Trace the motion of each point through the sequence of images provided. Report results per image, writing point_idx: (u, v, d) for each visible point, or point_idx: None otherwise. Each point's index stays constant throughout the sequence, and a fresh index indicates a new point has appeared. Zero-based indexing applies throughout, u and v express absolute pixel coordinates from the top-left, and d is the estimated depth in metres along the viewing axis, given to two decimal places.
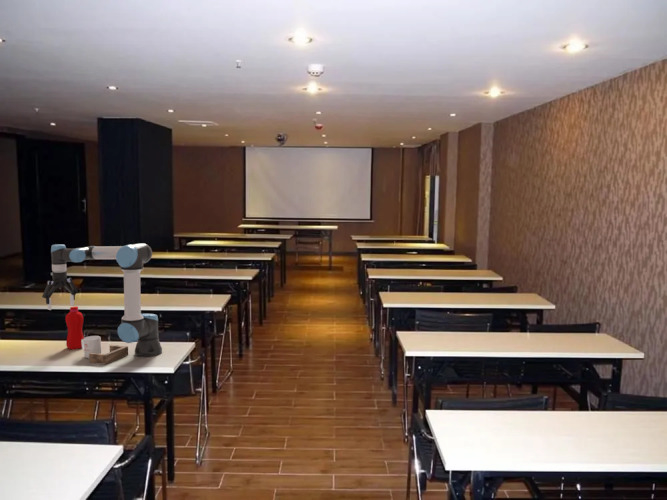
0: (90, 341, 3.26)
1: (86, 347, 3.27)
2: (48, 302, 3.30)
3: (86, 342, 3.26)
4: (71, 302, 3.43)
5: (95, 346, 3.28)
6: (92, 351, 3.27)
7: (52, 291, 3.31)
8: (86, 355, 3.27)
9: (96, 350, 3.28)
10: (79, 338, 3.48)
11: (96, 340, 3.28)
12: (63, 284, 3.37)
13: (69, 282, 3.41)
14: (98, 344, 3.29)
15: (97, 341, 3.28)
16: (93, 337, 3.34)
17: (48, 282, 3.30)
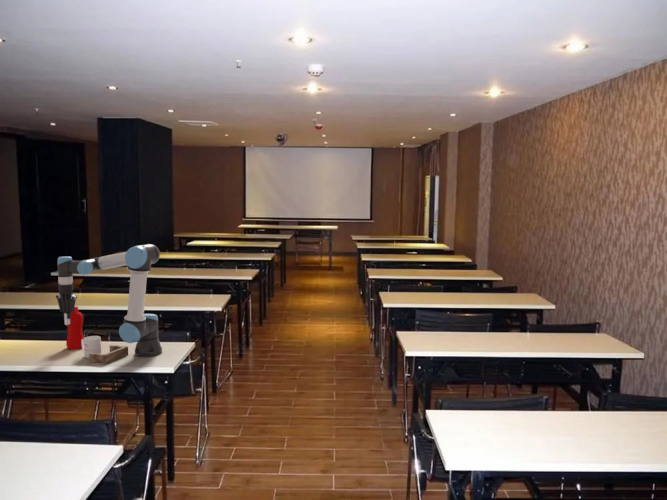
0: (90, 341, 3.26)
1: (86, 347, 3.27)
2: (64, 316, 3.34)
3: (86, 342, 3.26)
4: None
5: (95, 346, 3.28)
6: (92, 351, 3.27)
7: (62, 305, 3.33)
8: (86, 355, 3.27)
9: (96, 350, 3.28)
10: (79, 338, 3.48)
11: (96, 340, 3.28)
12: None
13: None
14: (98, 344, 3.29)
15: (97, 341, 3.28)
16: (93, 337, 3.34)
17: None
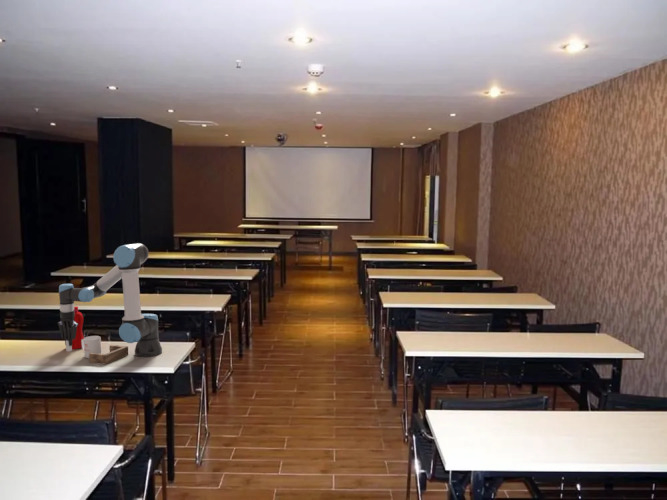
0: (90, 341, 3.26)
1: (86, 347, 3.27)
2: (66, 343, 3.35)
3: (86, 342, 3.26)
4: None
5: (95, 346, 3.28)
6: (92, 351, 3.27)
7: (64, 332, 3.34)
8: (86, 355, 3.27)
9: (96, 350, 3.28)
10: (79, 338, 3.48)
11: (96, 340, 3.28)
12: None
13: None
14: (98, 344, 3.29)
15: (97, 341, 3.28)
16: (93, 337, 3.34)
17: None
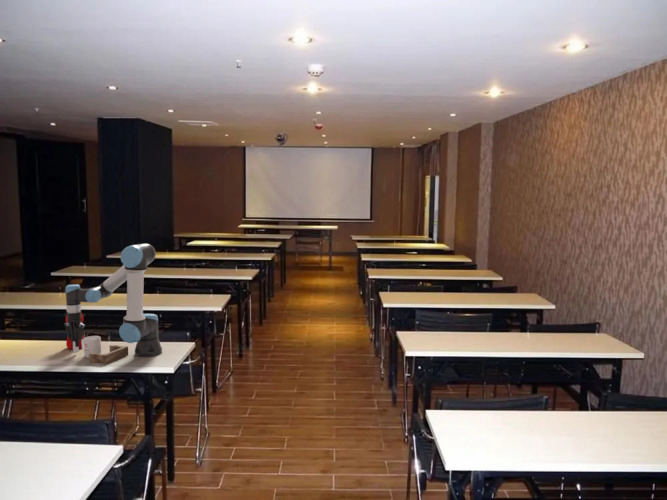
0: (90, 341, 3.26)
1: (86, 347, 3.27)
2: (72, 344, 3.34)
3: (86, 342, 3.26)
4: None
5: (95, 346, 3.28)
6: (92, 351, 3.27)
7: (71, 333, 3.33)
8: (86, 355, 3.27)
9: (96, 350, 3.28)
10: None
11: (96, 340, 3.28)
12: None
13: None
14: (98, 344, 3.29)
15: (97, 341, 3.28)
16: (93, 337, 3.34)
17: None
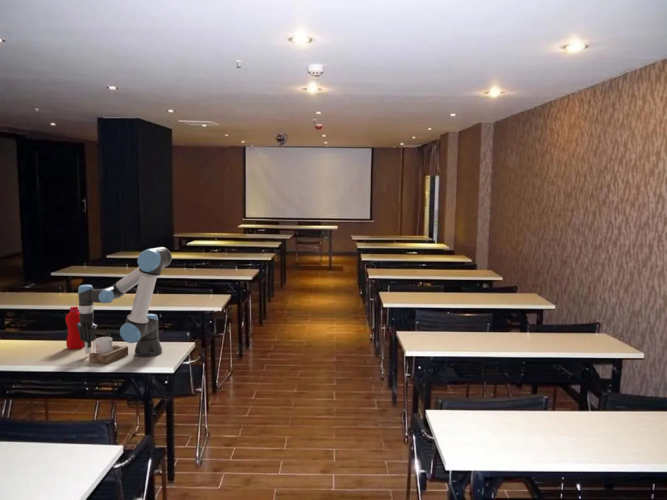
0: (102, 342, 3.24)
1: (98, 348, 3.24)
2: (84, 345, 3.32)
3: (98, 343, 3.24)
4: None
5: (107, 347, 3.25)
6: (104, 352, 3.25)
7: (83, 334, 3.30)
8: None
9: (108, 351, 3.26)
10: (79, 338, 3.48)
11: (108, 341, 3.25)
12: None
13: None
14: (110, 345, 3.27)
15: (109, 342, 3.26)
16: (104, 338, 3.32)
17: None
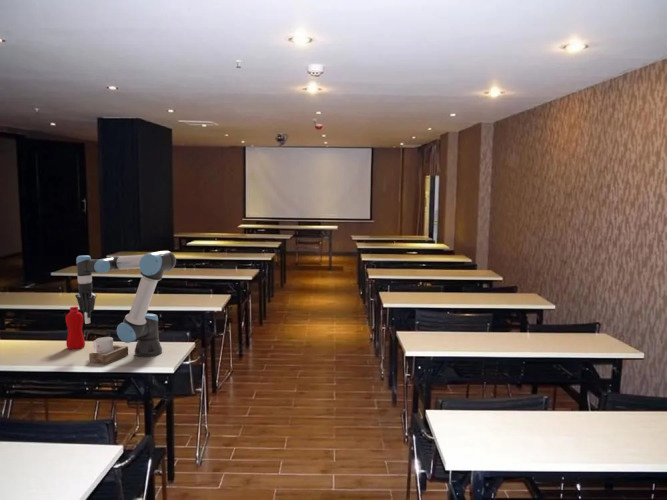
0: (102, 342, 3.24)
1: (98, 348, 3.24)
2: (84, 315, 3.35)
3: (98, 343, 3.24)
4: None
5: (107, 347, 3.25)
6: (104, 352, 3.24)
7: (82, 304, 3.34)
8: None
9: (108, 352, 3.26)
10: (79, 338, 3.48)
11: (108, 341, 3.25)
12: None
13: None
14: (111, 345, 3.27)
15: (109, 342, 3.26)
16: (105, 338, 3.32)
17: None
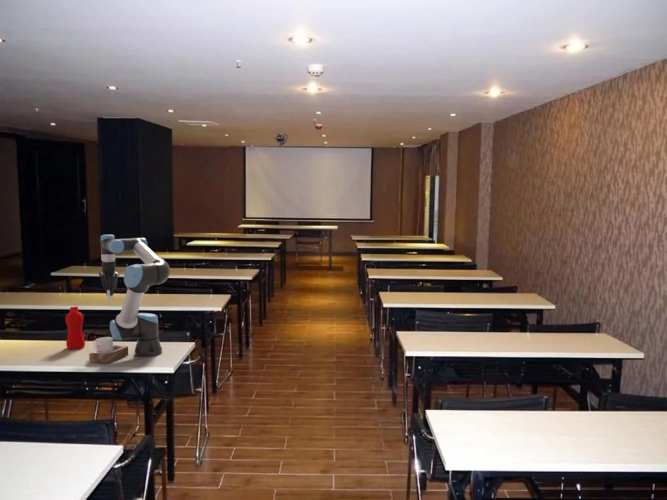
0: (102, 342, 3.24)
1: (98, 348, 3.24)
2: (107, 293, 3.43)
3: (98, 343, 3.24)
4: None
5: (107, 347, 3.25)
6: (104, 352, 3.24)
7: (105, 282, 3.41)
8: None
9: (108, 352, 3.26)
10: (79, 338, 3.48)
11: (108, 341, 3.25)
12: None
13: None
14: (111, 345, 3.27)
15: (109, 342, 3.26)
16: (105, 338, 3.32)
17: None
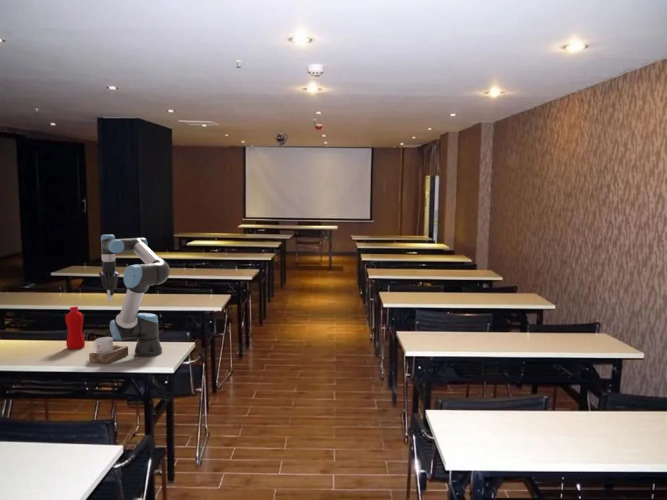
0: (102, 342, 3.24)
1: (98, 348, 3.24)
2: (107, 293, 3.43)
3: (98, 343, 3.24)
4: None
5: (107, 347, 3.25)
6: (104, 352, 3.24)
7: (106, 282, 3.42)
8: None
9: (108, 352, 3.26)
10: (79, 338, 3.48)
11: (108, 341, 3.25)
12: None
13: None
14: (111, 345, 3.27)
15: (109, 342, 3.26)
16: (105, 338, 3.32)
17: None
